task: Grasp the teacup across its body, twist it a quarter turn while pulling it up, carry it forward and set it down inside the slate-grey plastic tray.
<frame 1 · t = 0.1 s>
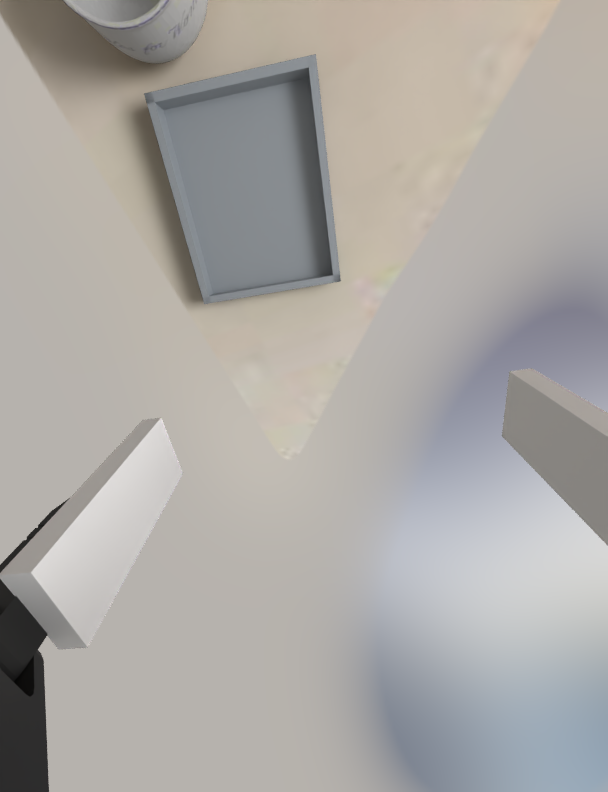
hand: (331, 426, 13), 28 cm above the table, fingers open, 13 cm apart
tray: (256, 199, 34), on the table
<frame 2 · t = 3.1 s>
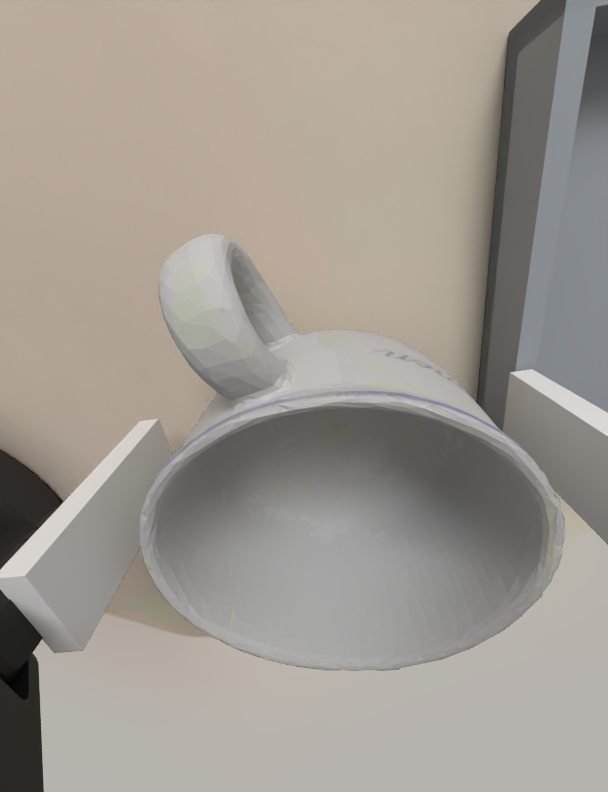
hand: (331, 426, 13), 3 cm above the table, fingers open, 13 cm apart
teacup: (319, 392, 15), on the table
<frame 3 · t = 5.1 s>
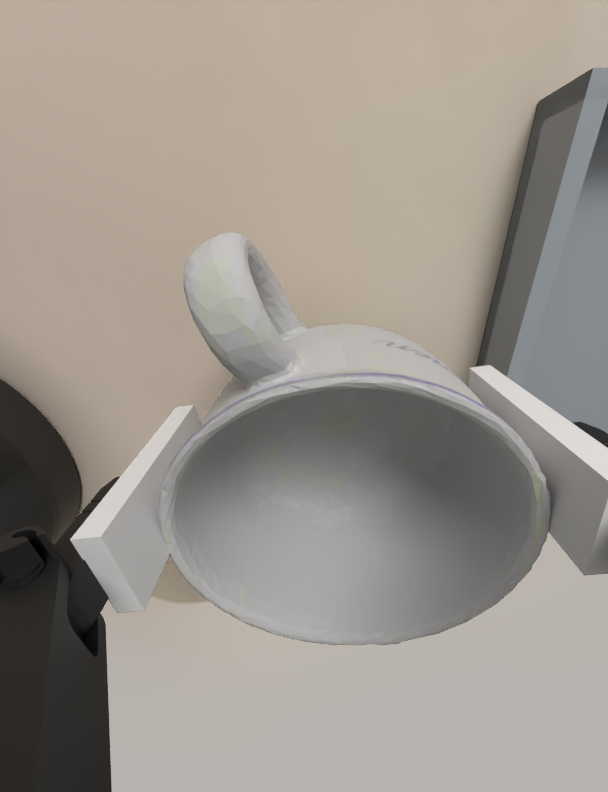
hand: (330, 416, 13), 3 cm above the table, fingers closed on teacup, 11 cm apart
teacup: (323, 385, 16), point 1 cm above the table, touching gripper
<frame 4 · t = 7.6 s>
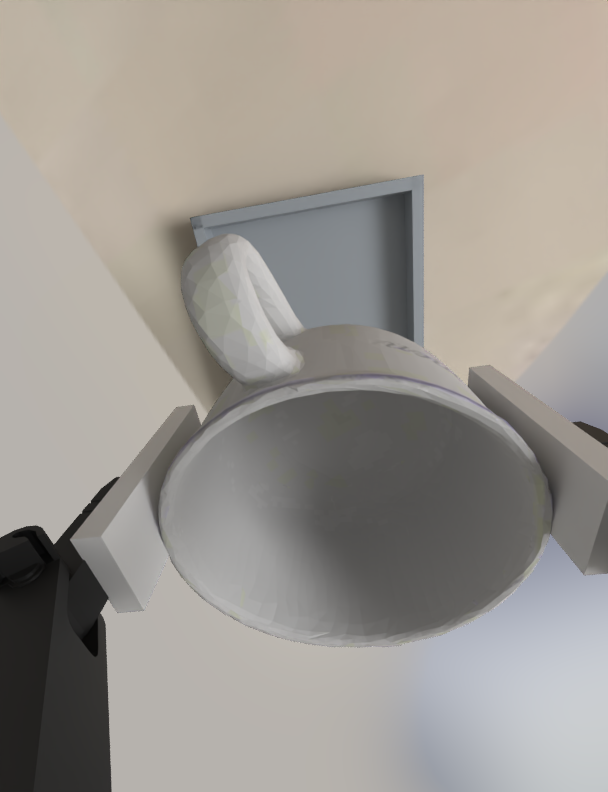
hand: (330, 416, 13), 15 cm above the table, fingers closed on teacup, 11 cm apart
teacup: (323, 386, 16), point 12 cm above the table, touching gripper
tray: (321, 326, 27), on the table
when the fingers open (3 cm above the table, at t = 10.2 s): teacup stays where it is, resting on tray.
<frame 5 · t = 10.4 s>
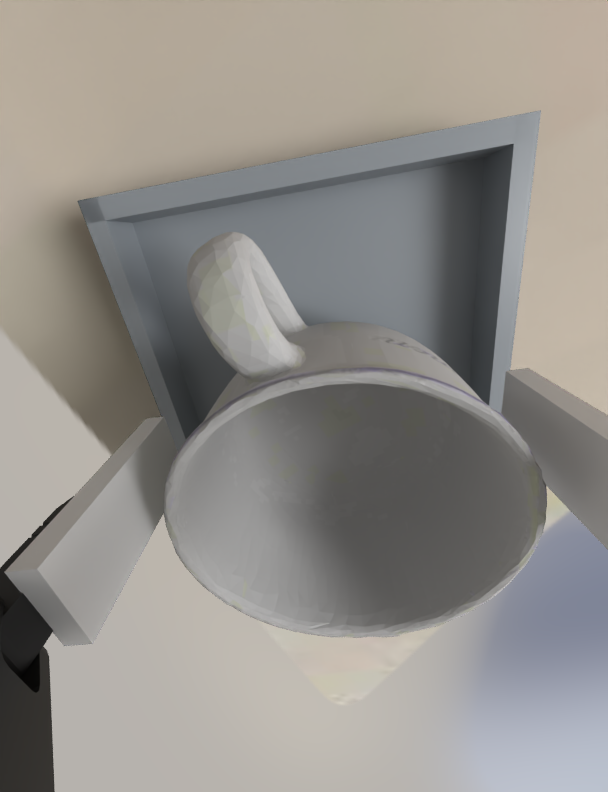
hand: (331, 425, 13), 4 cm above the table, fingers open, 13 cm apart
teacup: (324, 383, 16), resting on tray
tray: (327, 383, 16), on the table
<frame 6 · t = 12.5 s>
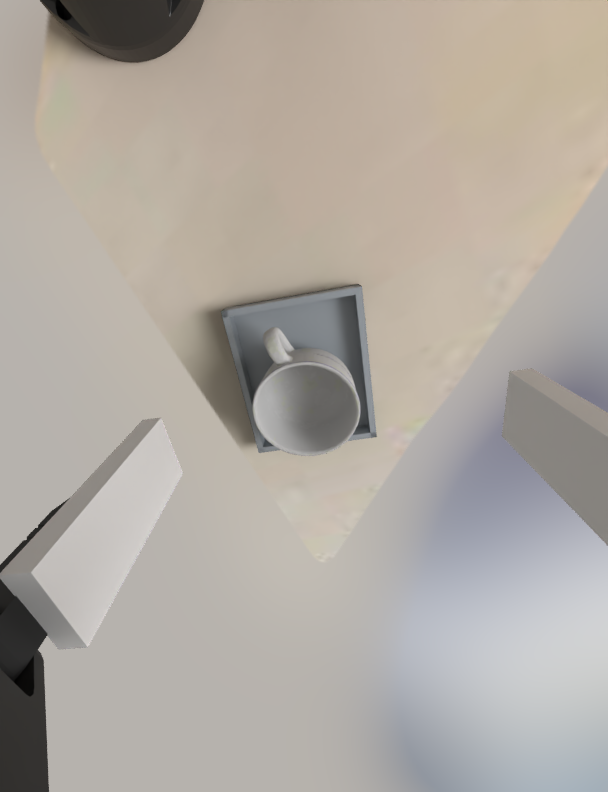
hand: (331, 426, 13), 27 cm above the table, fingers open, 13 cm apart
teacup: (303, 371, 39), resting on tray
tray: (305, 371, 40), on the table
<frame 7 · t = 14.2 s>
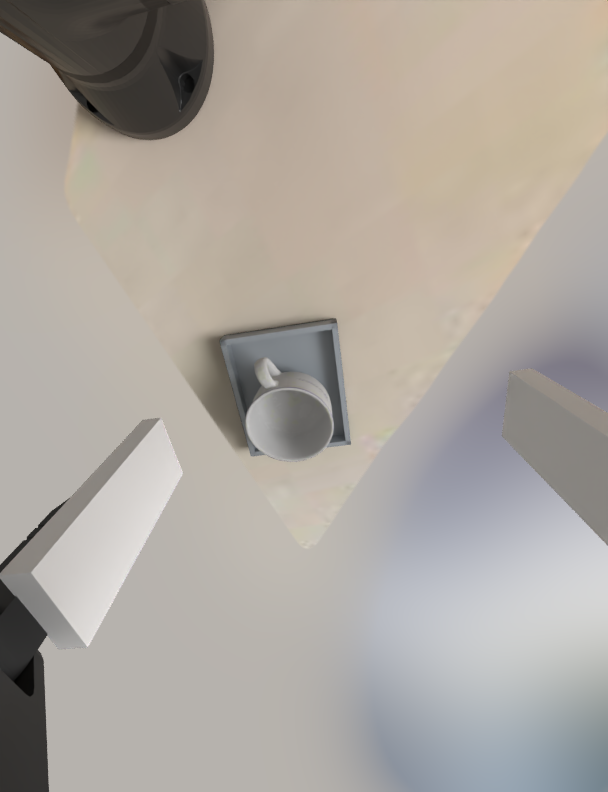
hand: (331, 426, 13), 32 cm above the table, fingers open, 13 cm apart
teacup: (289, 388, 46), resting on tray
tray: (290, 388, 47), on the table
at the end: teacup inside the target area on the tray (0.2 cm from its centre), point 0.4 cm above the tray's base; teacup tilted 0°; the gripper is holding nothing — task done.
